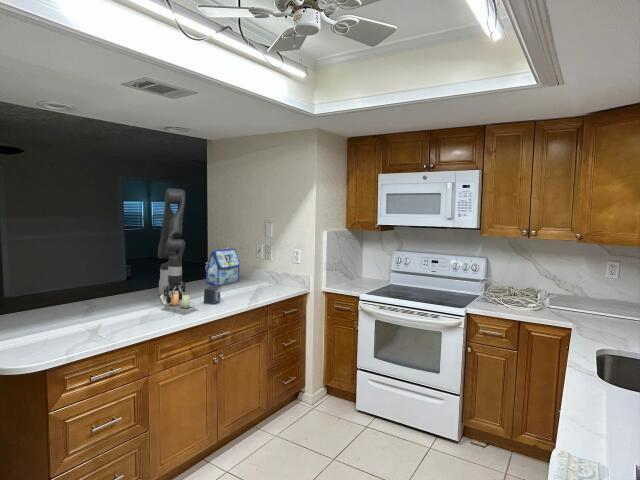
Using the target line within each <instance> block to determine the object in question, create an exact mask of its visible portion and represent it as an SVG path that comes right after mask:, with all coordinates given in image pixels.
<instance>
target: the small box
mask: <svg viewBox="0 0 640 480" xmlns="http://www.w3.org/2000/svg"><path fill="white" fill-rule="evenodd" d="M203 292H204V293H203V305H210V306H213V305H218V304H220V303H221V285H219V286H216V285H214V284H211V285H210V286H207V287H205V288H204V290H203Z"/></svg>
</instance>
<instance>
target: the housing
mask: <svg viewBox="0 0 640 480" xmlns="http://www.w3.org/2000/svg"><path fill="white" fill-rule="evenodd" d="M160 311H165V312H169V313H174V314H178V315H182V316H187V315H189V314H192V313H194V312H195V313H196V312H198V311H199V309H197V308H196V306H191V305H189V309H187V310H185V309H182V303H179V306H177V307H171V304H169V303H167V304H166V305H165V304H164V308H162V309H160Z"/></svg>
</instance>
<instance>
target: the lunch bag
mask: <svg viewBox="0 0 640 480" xmlns="http://www.w3.org/2000/svg"><path fill="white" fill-rule="evenodd" d="M240 265H241V261H240V259H239V256H238V253H237V249H236V248H226V249H225V248H224V249H215V250H212V251H211V253H210V255H209V258H208V263H207V267H206V273H205V283H206V284H211V285H213V286H223V285H226V284H227V285H228V284H232V283H237V282H239V280H240Z"/></svg>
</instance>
